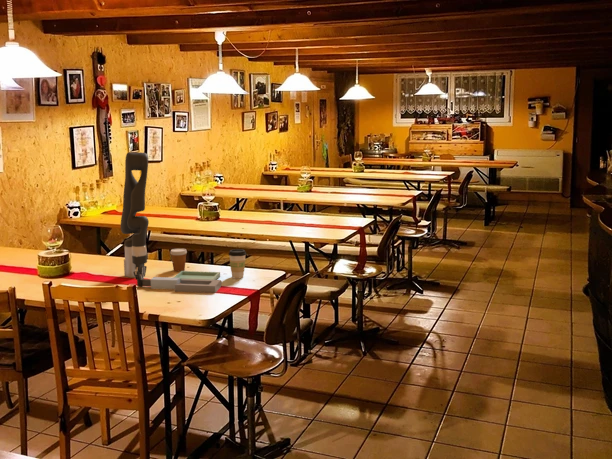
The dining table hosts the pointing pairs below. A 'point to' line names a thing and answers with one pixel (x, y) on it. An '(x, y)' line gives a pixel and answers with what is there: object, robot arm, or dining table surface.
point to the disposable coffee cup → (178, 259)
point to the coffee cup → (237, 262)
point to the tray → (198, 275)
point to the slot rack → (198, 285)
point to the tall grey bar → (160, 282)
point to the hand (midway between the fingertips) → (140, 286)
